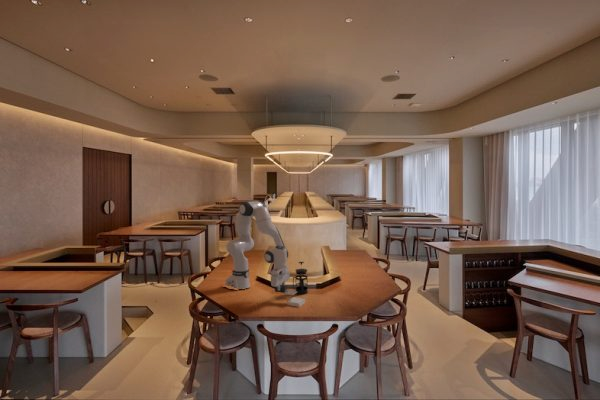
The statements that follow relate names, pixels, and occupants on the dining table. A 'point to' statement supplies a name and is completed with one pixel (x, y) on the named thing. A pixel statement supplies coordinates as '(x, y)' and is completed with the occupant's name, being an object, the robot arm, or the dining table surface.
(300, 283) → the french press
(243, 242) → the robot arm
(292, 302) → the tile
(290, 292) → the turner
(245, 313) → the dining table surface
